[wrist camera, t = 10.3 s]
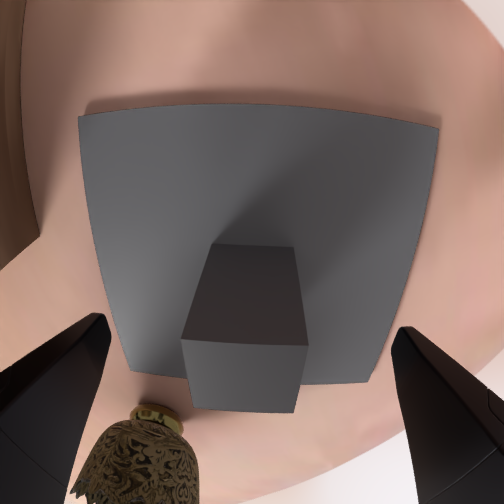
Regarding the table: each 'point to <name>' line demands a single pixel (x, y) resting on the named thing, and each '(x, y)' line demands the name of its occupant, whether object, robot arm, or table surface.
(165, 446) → the cup
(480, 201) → the table surface
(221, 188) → the lid
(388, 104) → the table surface
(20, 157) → the walnut box
